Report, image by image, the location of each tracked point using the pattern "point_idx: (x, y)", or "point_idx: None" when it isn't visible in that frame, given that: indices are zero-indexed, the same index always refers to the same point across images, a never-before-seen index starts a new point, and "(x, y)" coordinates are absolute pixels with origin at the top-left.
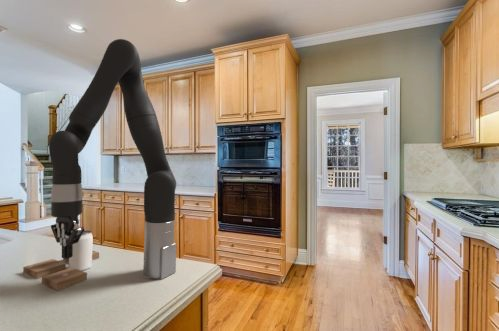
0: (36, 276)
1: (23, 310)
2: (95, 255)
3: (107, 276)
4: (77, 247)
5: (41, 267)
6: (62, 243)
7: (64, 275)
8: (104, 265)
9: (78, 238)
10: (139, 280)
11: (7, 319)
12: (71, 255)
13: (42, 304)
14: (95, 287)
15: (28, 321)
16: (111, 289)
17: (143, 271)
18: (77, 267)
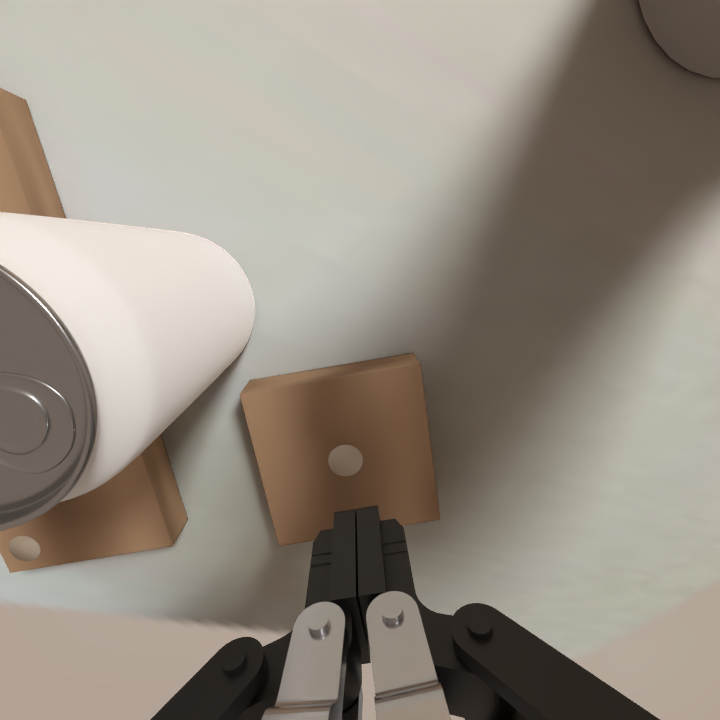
0: (179, 527)
1: (509, 614)
2: (13, 128)
3: (472, 248)
4: (178, 414)
5: (97, 511)
6: (361, 697)
7: (356, 466)
8: (252, 160)
9: (578, 680)
10: (710, 138)
11: None
12: (397, 525)
13: (519, 565)
14: (557, 364)
15: (609, 618)
16: (657, 320)
17: (700, 51)
18: (238, 353)
